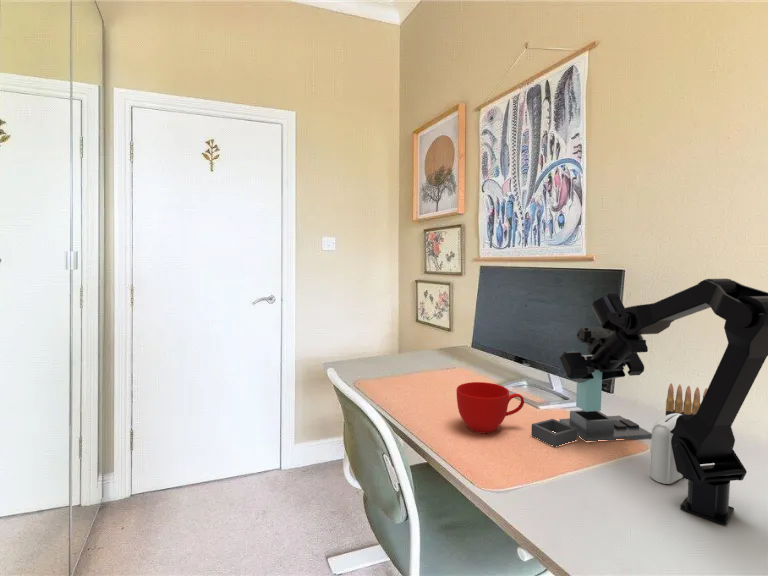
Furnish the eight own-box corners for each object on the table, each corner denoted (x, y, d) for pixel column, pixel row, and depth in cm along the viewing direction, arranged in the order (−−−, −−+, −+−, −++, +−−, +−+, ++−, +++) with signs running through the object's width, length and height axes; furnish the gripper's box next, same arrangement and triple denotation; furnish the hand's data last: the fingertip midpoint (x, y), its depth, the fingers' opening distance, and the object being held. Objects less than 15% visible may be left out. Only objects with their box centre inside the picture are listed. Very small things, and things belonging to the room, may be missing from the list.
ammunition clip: (717, 438, 105) (720, 389, 104) (717, 441, 104) (720, 391, 102) (664, 428, 111) (666, 381, 110) (663, 430, 110) (666, 383, 109)
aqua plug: (600, 410, 107) (602, 358, 106) (585, 411, 106) (587, 358, 105) (590, 405, 111) (592, 354, 110) (576, 405, 110) (577, 355, 109)
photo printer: (670, 464, 93) (673, 406, 92) (693, 472, 89) (697, 413, 88) (645, 478, 87) (648, 417, 86) (669, 487, 83) (673, 424, 82)
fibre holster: (576, 441, 104) (577, 428, 103) (555, 447, 100) (555, 435, 100) (552, 430, 110) (552, 418, 110) (531, 436, 107) (531, 424, 106)
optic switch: (652, 438, 105) (653, 422, 105) (586, 442, 103) (586, 426, 103) (619, 419, 117) (620, 404, 117) (559, 422, 115) (559, 407, 114)
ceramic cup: (531, 439, 105) (532, 398, 104) (460, 438, 105) (460, 398, 105) (516, 418, 118) (517, 382, 117) (452, 418, 118) (453, 381, 117)
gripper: (637, 316, 104) (605, 351, 116) (565, 318, 101) (539, 354, 113) (662, 356, 97) (625, 389, 109) (584, 360, 94) (555, 394, 106)
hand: (585, 380), depth 110 cm, fingers closed on aqua plug, 4 cm apart
